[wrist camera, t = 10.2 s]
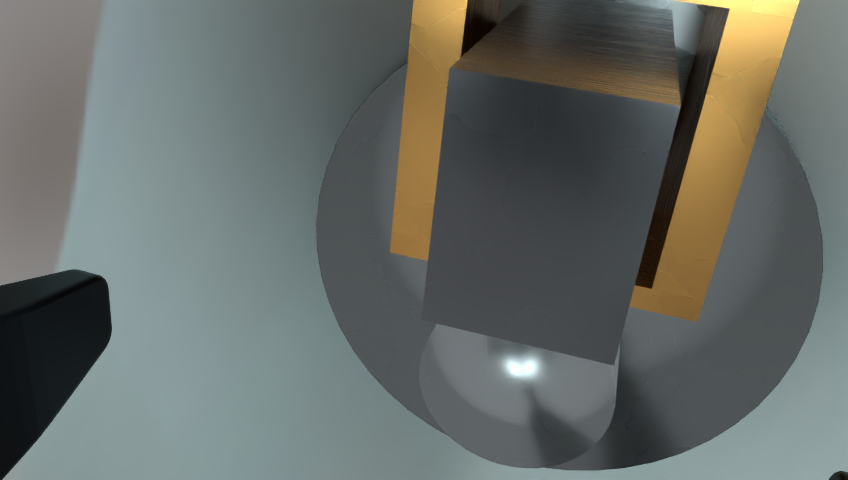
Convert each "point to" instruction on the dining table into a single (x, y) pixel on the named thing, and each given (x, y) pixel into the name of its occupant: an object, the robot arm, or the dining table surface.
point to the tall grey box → (552, 174)
